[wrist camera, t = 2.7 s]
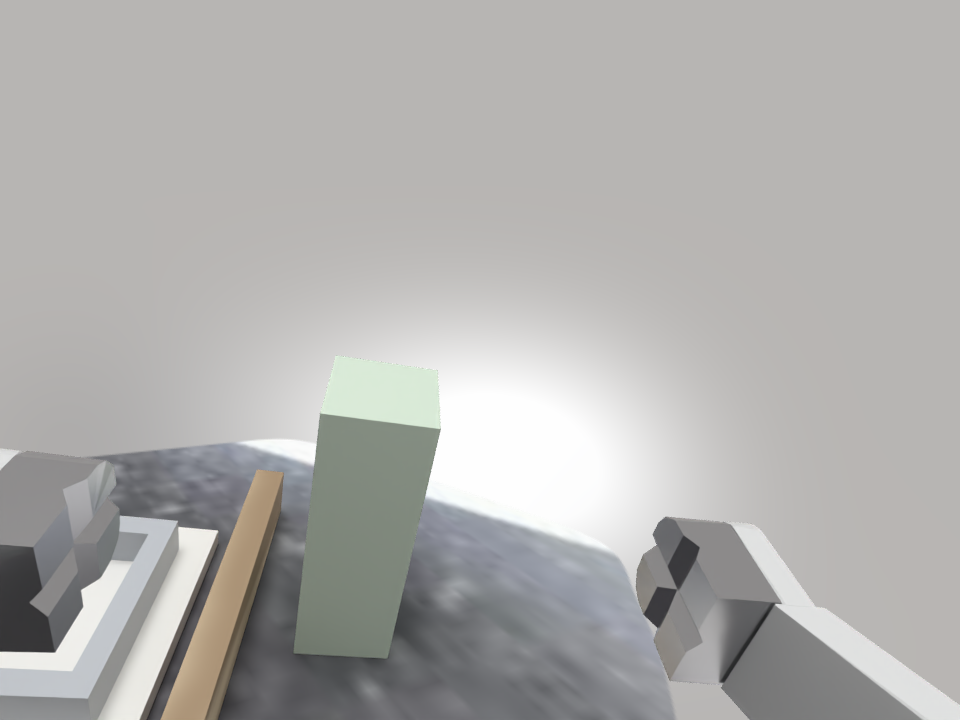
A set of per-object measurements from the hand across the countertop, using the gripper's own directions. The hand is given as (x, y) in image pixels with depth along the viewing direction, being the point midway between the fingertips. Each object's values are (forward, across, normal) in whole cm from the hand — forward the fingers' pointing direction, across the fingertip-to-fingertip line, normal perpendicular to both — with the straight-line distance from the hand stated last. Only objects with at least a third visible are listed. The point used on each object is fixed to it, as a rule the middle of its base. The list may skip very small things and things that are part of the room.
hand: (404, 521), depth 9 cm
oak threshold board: (+13, +6, +20) cm, 25 cm away
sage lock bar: (+14, 0, +20) cm, 24 cm away
